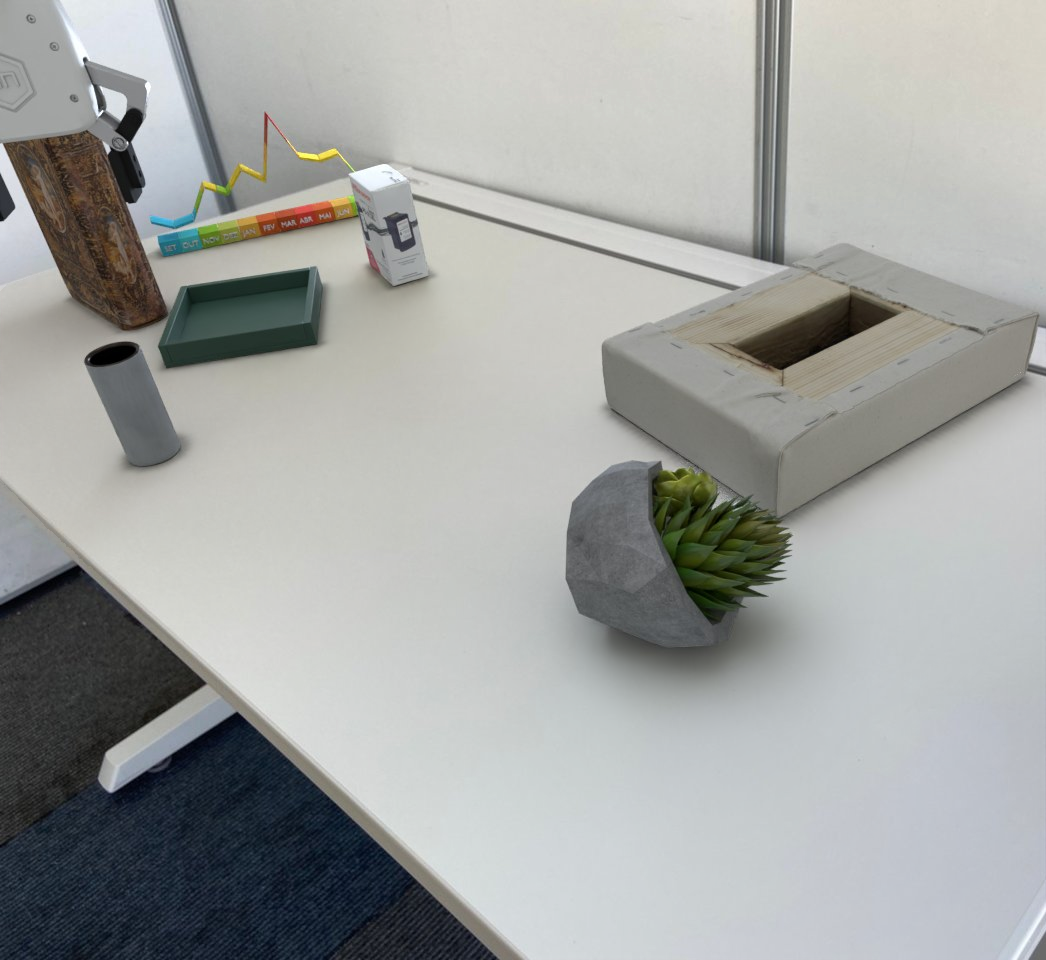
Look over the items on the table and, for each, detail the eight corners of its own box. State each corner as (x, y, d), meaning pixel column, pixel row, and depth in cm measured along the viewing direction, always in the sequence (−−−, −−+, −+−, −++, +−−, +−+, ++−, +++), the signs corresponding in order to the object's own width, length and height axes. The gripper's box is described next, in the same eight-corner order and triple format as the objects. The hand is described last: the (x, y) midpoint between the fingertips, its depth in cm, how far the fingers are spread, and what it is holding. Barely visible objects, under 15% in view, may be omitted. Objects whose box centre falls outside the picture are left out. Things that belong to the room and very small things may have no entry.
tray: (166, 368, 103) (157, 346, 101) (188, 306, 115) (180, 286, 114) (316, 344, 105) (310, 322, 104) (322, 286, 118) (316, 265, 116)
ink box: (368, 265, 122) (345, 171, 115) (405, 254, 124) (385, 161, 117) (392, 287, 116) (369, 190, 109) (431, 276, 118) (411, 179, 111)
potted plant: (612, 492, 74) (806, 460, 69) (621, 663, 71) (826, 644, 65) (535, 454, 63) (759, 413, 58) (542, 654, 60) (779, 630, 54)
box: (781, 528, 75) (1031, 377, 90) (781, 444, 70) (1044, 299, 85) (602, 415, 90) (841, 303, 105) (593, 341, 86) (843, 234, 101)
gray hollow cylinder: (163, 433, 92) (121, 336, 86) (191, 447, 90) (150, 348, 84) (118, 457, 89) (72, 358, 83) (146, 472, 87) (101, 371, 81)
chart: (163, 257, 129) (120, 142, 120) (162, 249, 131) (120, 136, 122) (390, 209, 138) (365, 98, 129) (385, 202, 140) (360, 93, 132)
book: (173, 315, 114) (88, 91, 99) (127, 333, 110) (32, 105, 96) (114, 281, 123) (28, 72, 108) (70, 297, 120) (-25, 84, 105)
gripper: (-195, -13, 63) (-64, 240, 73) (87, -43, 65) (177, 207, 75) (-145, -30, 69) (-30, 207, 79) (112, -56, 71) (192, 176, 81)
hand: (71, 206), depth 77 cm, fingers open, 9 cm apart
